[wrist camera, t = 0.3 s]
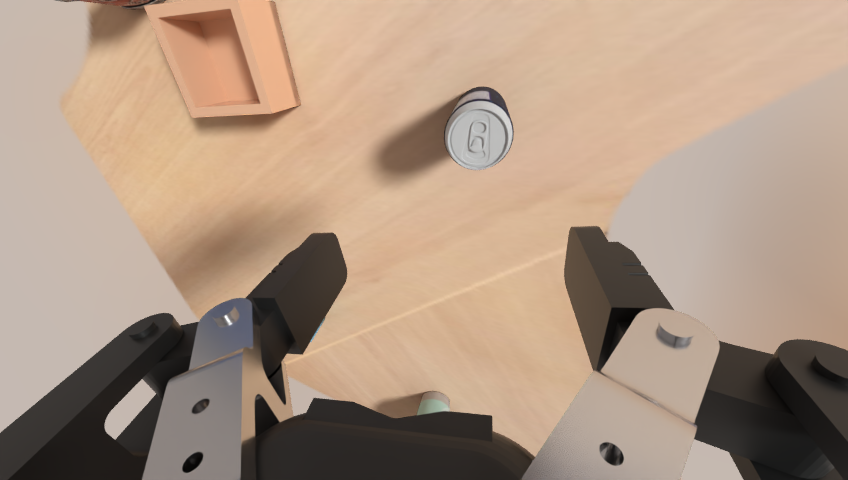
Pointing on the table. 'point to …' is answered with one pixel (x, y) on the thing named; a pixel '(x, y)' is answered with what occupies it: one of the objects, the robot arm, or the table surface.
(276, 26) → the tan open box
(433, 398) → the coffee cup
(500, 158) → the beverage can
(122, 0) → the lighter
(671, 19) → the table surface
